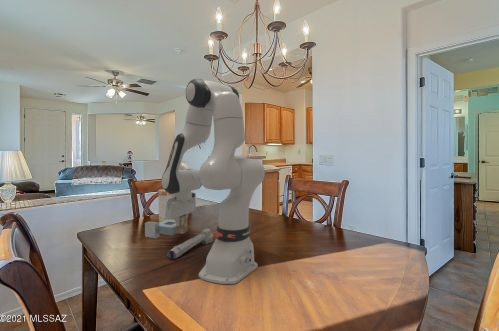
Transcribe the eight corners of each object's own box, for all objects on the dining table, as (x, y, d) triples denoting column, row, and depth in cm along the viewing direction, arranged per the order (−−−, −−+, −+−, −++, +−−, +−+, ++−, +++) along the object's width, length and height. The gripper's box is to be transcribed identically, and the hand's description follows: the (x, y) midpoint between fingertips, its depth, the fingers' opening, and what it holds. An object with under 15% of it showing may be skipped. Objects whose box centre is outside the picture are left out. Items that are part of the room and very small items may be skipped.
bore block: (172, 235, 132) (172, 227, 131) (152, 232, 136) (152, 225, 135) (186, 228, 143) (186, 221, 142) (167, 226, 147) (167, 219, 147)
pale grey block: (155, 238, 127) (155, 224, 127) (145, 237, 129) (144, 222, 129) (159, 236, 130) (159, 222, 130) (149, 235, 132) (149, 221, 132)
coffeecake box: (179, 217, 166) (178, 186, 165) (187, 219, 162) (186, 187, 160) (158, 223, 154) (157, 189, 153) (166, 225, 150) (165, 190, 148)
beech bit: (182, 233, 126) (182, 216, 126) (175, 232, 128) (175, 216, 127) (187, 231, 130) (186, 214, 130) (180, 230, 131) (180, 214, 131)
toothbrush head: (165, 249, 104) (205, 224, 125) (167, 264, 105) (207, 238, 127) (175, 251, 101) (214, 226, 123) (177, 267, 103) (216, 239, 124)
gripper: (173, 199, 117) (173, 230, 118) (197, 193, 137) (198, 220, 137) (161, 199, 120) (162, 229, 120) (187, 192, 139) (187, 219, 139)
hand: (181, 224), depth 129 cm, fingers closed on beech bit, 4 cm apart
